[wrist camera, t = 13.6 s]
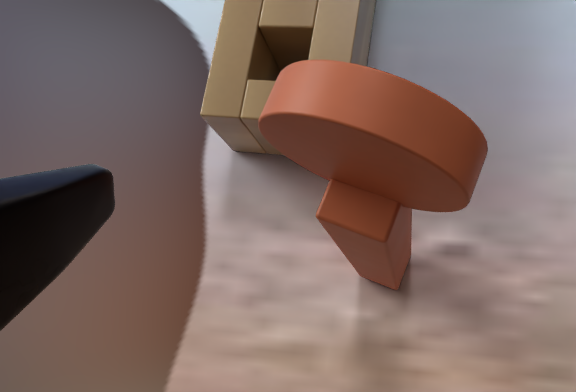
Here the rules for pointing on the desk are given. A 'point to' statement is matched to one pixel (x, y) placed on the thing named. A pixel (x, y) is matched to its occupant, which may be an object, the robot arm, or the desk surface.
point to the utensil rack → (275, 56)
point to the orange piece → (373, 155)
